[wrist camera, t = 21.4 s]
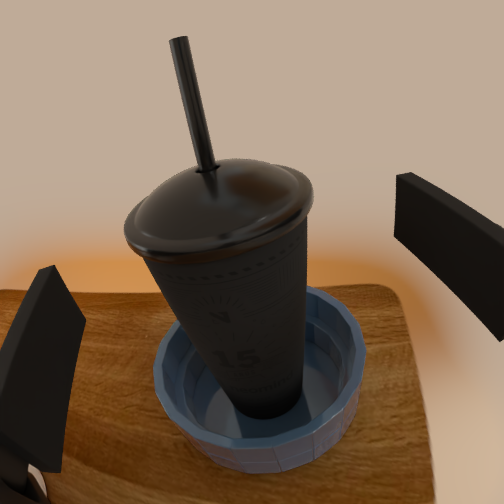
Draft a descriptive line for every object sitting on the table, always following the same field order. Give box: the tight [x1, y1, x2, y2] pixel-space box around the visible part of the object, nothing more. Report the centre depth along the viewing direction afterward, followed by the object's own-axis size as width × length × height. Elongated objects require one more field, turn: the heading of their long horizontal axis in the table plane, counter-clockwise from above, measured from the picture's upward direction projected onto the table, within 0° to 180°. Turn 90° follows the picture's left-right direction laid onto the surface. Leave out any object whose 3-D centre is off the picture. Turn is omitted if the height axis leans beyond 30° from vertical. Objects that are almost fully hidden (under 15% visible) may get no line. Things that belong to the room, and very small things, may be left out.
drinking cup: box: [124, 36, 314, 420], centre depth 14 cm, size 8×8×20 cm
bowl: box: [153, 286, 366, 473], centre depth 19 cm, size 12×12×5 cm
